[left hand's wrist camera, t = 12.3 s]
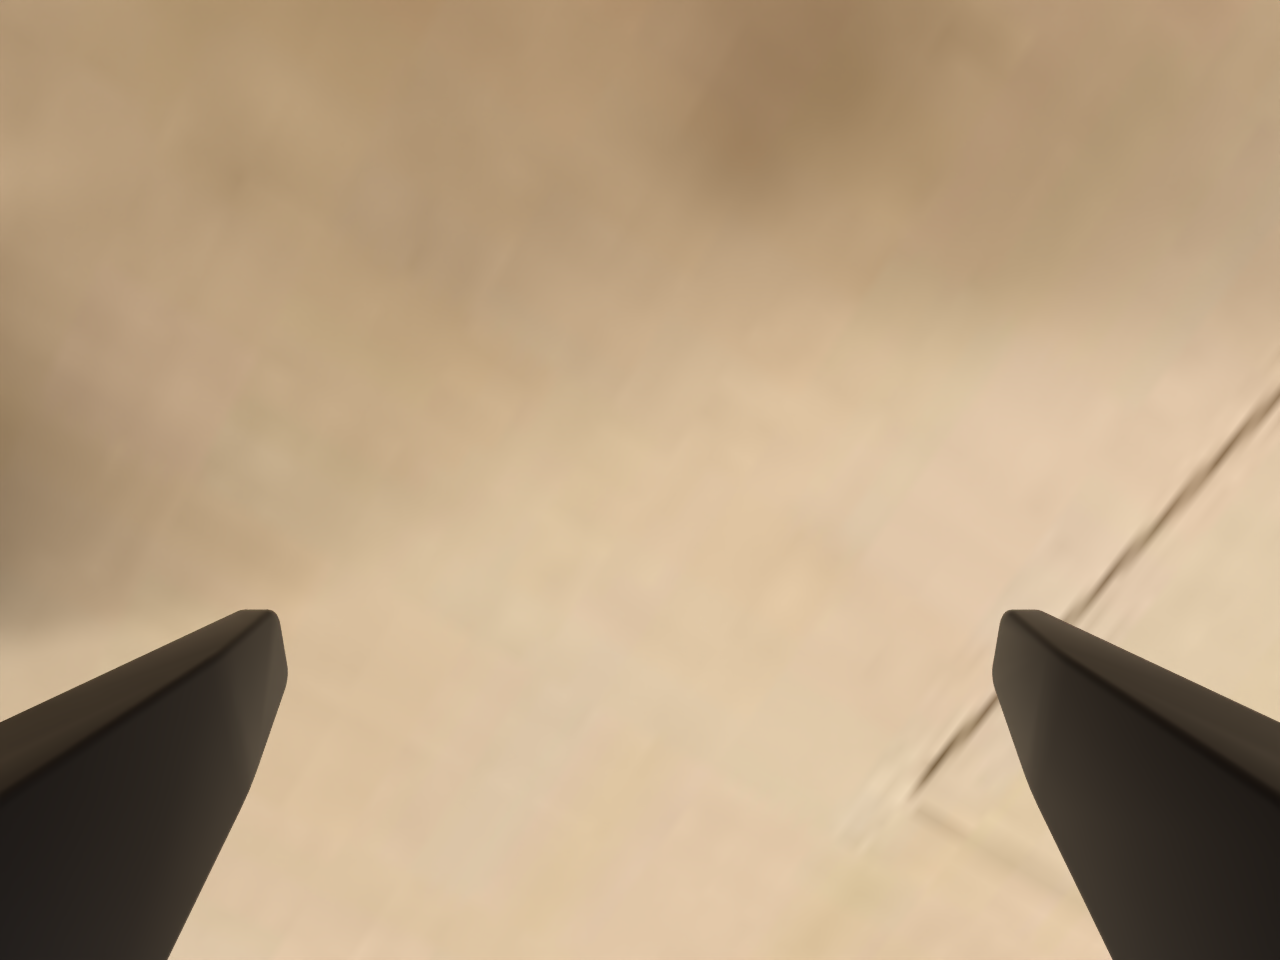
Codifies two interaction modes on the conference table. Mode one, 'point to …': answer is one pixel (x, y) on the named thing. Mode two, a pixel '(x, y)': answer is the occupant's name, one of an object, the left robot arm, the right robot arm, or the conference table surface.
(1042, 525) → the conference table surface
